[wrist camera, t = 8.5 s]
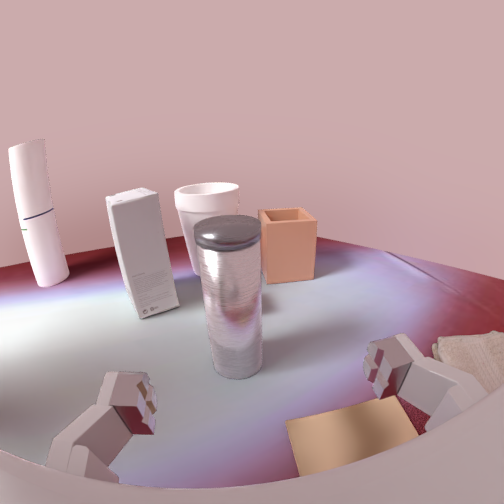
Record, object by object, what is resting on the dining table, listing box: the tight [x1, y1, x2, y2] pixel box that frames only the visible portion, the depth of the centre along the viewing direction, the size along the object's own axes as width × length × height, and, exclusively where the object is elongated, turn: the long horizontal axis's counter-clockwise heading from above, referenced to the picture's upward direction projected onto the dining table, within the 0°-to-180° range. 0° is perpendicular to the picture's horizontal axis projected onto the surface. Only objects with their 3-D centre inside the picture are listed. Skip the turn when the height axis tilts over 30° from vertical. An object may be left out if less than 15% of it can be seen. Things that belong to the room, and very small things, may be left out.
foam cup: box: [174, 182, 239, 276], centre depth 43 cm, size 10×9×13 cm
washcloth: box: [432, 331, 504, 394], centre depth 16 cm, size 12×18×3 cm, turn 171°
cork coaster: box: [285, 395, 419, 477], centre depth 15 cm, size 10×10×1 cm
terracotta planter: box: [258, 207, 317, 284], centre depth 42 cm, size 7×7×9 cm
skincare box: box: [106, 188, 179, 319], centre depth 34 cm, size 8×6×15 cm
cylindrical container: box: [9, 139, 69, 287], centre depth 38 cm, size 7×7×25 cm
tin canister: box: [193, 215, 262, 379], centre depth 24 cm, size 5×5×14 cm
